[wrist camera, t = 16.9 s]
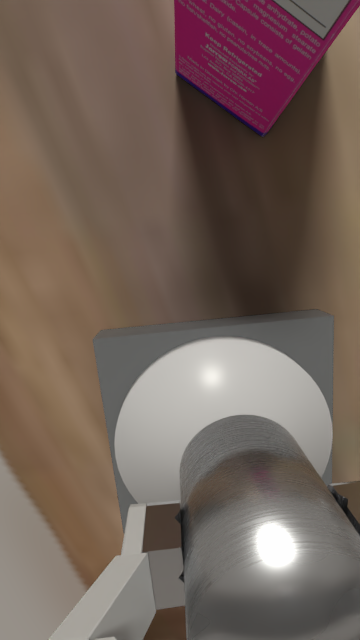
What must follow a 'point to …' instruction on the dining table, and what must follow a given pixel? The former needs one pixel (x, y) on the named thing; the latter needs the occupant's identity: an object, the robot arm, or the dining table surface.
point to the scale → (211, 391)
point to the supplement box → (254, 50)
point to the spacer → (264, 539)
